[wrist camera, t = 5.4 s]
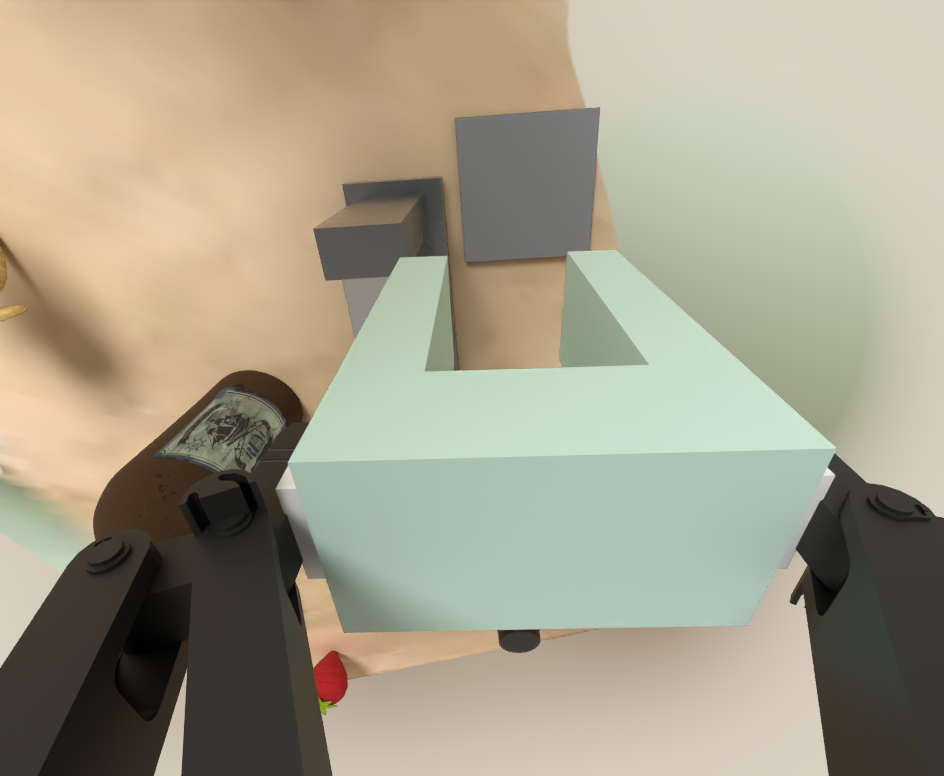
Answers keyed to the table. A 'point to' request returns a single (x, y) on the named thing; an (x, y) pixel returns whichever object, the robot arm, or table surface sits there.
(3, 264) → the wall sconce
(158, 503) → the olive oil
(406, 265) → the mint green u-shaped block
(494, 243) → the gray rectangular panel
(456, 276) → the table surface
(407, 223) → the stand
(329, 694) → the strawberry
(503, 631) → the supplement bottle
